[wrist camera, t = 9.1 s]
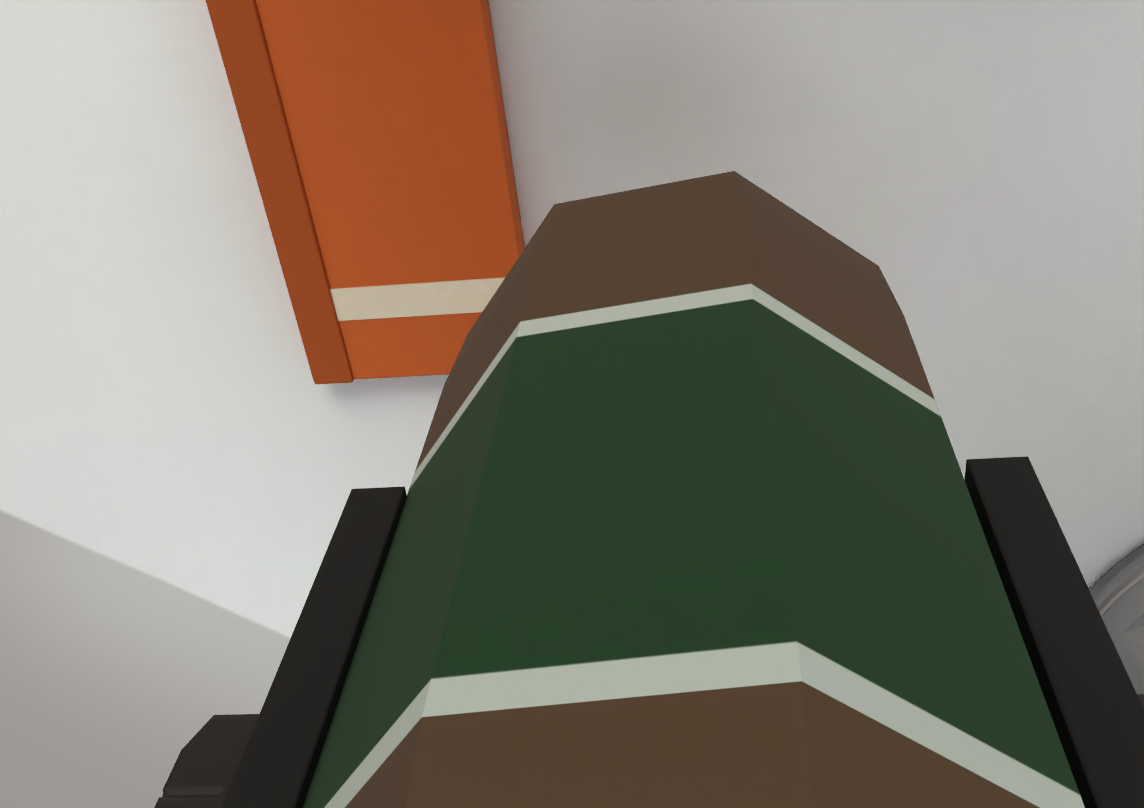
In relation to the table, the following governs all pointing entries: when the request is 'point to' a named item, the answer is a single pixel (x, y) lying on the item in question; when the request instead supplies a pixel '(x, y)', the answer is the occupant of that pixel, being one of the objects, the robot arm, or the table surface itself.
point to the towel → (377, 171)
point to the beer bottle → (690, 545)
